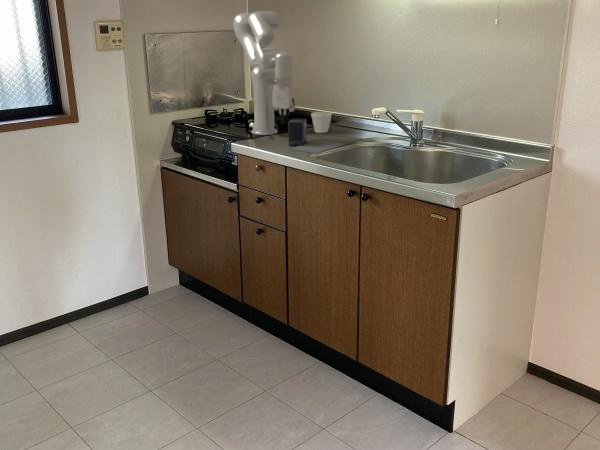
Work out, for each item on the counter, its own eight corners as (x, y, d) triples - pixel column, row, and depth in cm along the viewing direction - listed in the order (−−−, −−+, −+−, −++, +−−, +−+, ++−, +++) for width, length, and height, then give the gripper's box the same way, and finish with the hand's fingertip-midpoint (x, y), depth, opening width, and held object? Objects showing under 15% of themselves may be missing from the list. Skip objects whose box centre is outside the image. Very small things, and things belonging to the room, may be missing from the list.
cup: (331, 134, 300) (332, 115, 297) (311, 134, 300) (311, 115, 297) (331, 130, 309) (331, 111, 306) (310, 130, 309) (311, 111, 306)
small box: (302, 145, 274) (302, 121, 271) (288, 145, 275) (287, 121, 272) (307, 141, 284) (306, 118, 280) (293, 141, 285) (292, 118, 282)
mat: (289, 149, 269) (289, 148, 269) (319, 140, 285) (319, 140, 285) (316, 153, 261) (316, 153, 261) (345, 144, 278) (345, 144, 277)
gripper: (265, 81, 276) (266, 123, 282) (292, 84, 268) (292, 126, 274) (276, 80, 282) (276, 120, 288) (302, 82, 273) (302, 124, 279)
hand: (284, 123), depth 281 cm, fingers closed
